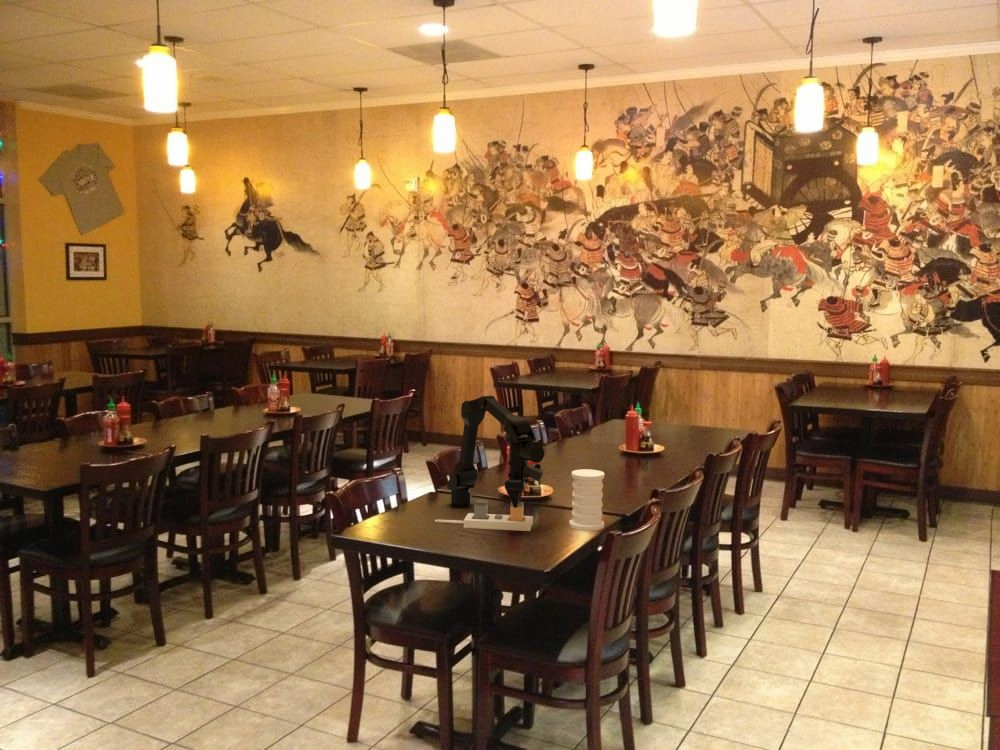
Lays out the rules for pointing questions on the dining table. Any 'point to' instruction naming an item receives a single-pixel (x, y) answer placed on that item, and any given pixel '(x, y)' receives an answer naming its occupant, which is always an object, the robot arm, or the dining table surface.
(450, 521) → the power strip
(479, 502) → the twin plug
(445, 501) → the dining table surface
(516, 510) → the plug
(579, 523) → the decorative container
